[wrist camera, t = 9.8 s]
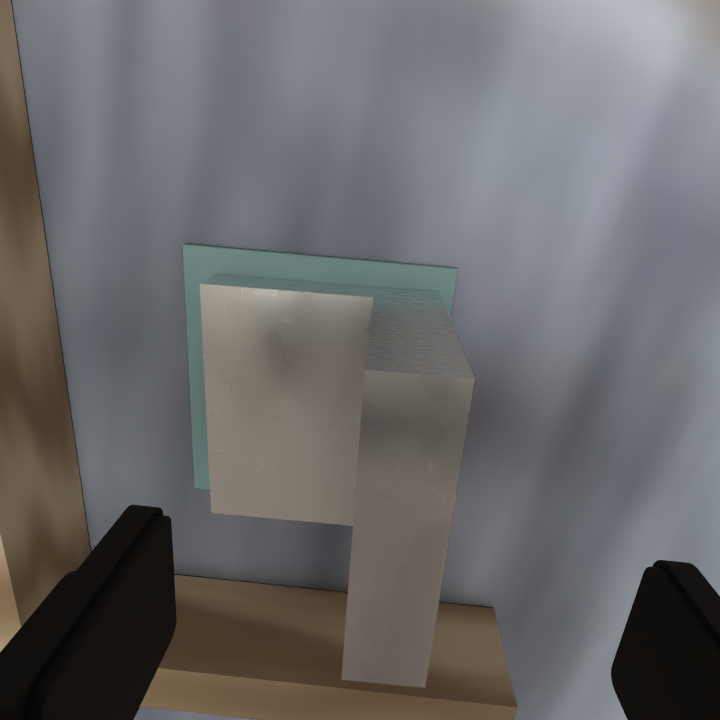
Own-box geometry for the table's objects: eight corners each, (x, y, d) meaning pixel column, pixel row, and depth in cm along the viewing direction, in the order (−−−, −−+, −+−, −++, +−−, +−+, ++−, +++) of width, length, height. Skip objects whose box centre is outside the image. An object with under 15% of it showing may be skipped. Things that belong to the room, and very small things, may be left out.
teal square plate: (421, 507, 19) (421, 511, 19) (196, 485, 19) (194, 488, 19) (457, 268, 15) (457, 269, 15) (185, 243, 16) (182, 244, 15)
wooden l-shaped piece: (485, 644, 21) (506, 747, 17) (51, 598, 21) (-20, 688, 18) (628, 31, 13) (723, -24, 9) (-65, -23, 13) (-238, -96, 10)
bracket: (412, 504, 18) (425, 687, 12) (224, 487, 19) (135, 659, 12) (439, 290, 16) (474, 378, 9) (216, 273, 16) (93, 348, 9)
